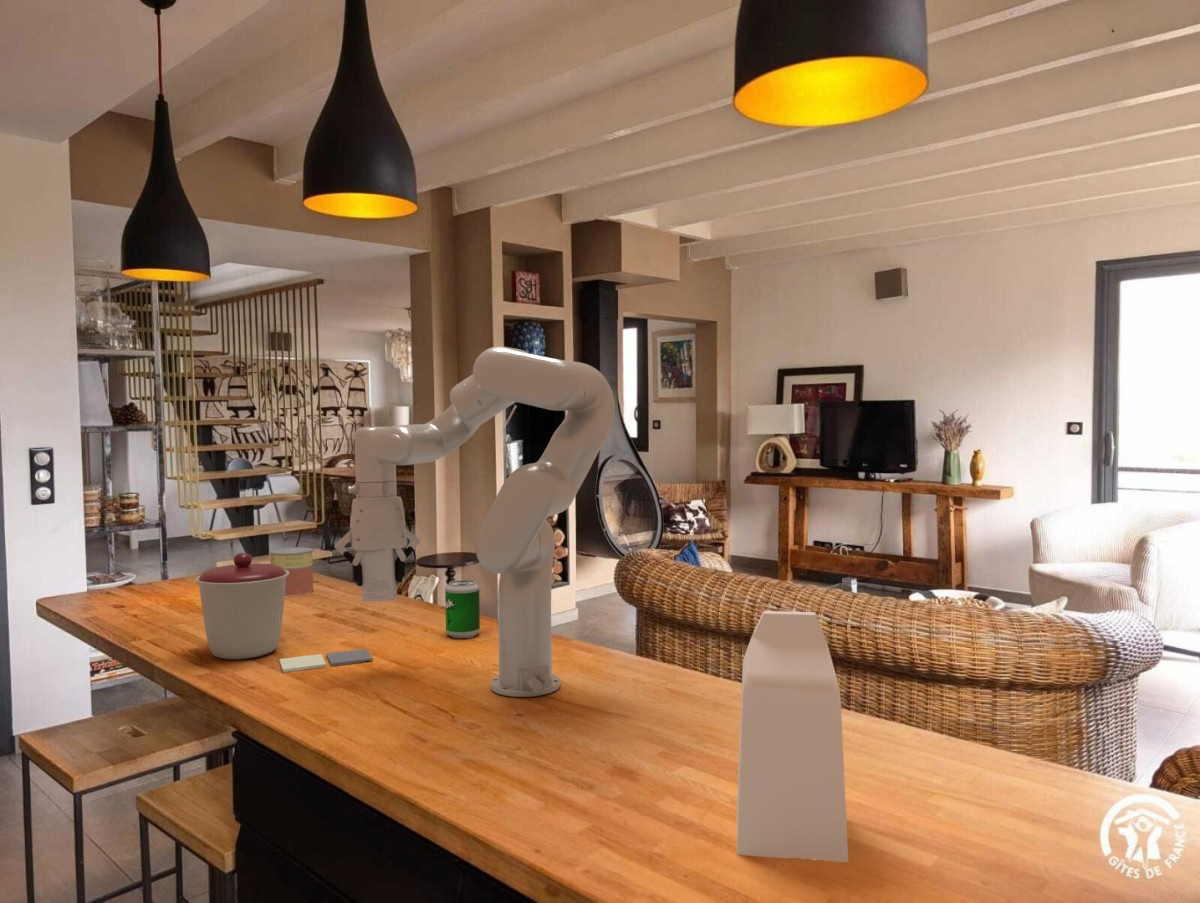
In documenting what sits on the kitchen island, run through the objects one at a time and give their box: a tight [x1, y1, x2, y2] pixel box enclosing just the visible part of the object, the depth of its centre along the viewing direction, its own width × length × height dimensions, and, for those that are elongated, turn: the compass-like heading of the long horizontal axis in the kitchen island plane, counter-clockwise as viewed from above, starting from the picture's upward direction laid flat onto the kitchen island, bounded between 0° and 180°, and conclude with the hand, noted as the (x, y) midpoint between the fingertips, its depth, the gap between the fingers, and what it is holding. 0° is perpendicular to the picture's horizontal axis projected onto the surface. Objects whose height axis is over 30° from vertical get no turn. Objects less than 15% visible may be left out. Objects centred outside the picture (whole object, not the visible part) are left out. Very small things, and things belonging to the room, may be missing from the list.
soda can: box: [444, 579, 481, 639], centre depth 192 cm, size 8×8×12 cm
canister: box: [194, 552, 289, 660], centre depth 179 cm, size 18×18×21 cm
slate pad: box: [325, 648, 374, 667], centre depth 174 cm, size 8×8×1 cm
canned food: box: [269, 546, 314, 596], centre depth 241 cm, size 11×11×12 cm
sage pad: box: [279, 653, 327, 673], centre depth 171 cm, size 8×8×1 cm
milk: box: [736, 610, 849, 863], centre depth 100 cm, size 12×12×26 cm
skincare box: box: [360, 538, 398, 602], centre depth 165 cm, size 6×4×12 cm
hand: (379, 582), depth 165 cm, fingers closed on skincare box, 6 cm apart
